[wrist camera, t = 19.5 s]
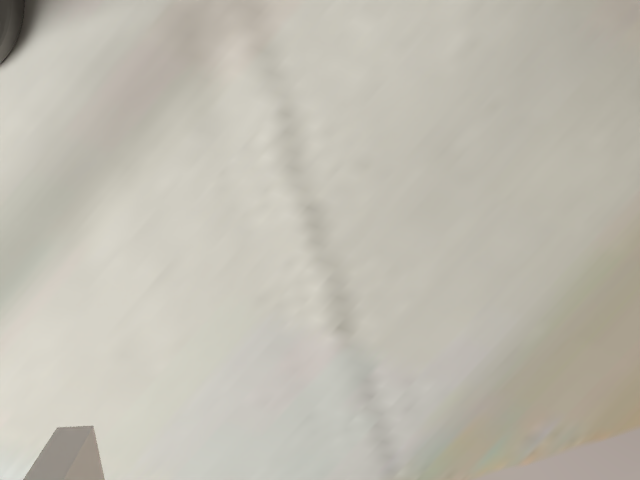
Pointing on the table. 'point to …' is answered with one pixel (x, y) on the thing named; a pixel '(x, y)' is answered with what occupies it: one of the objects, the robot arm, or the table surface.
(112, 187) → the table surface
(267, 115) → the table surface
